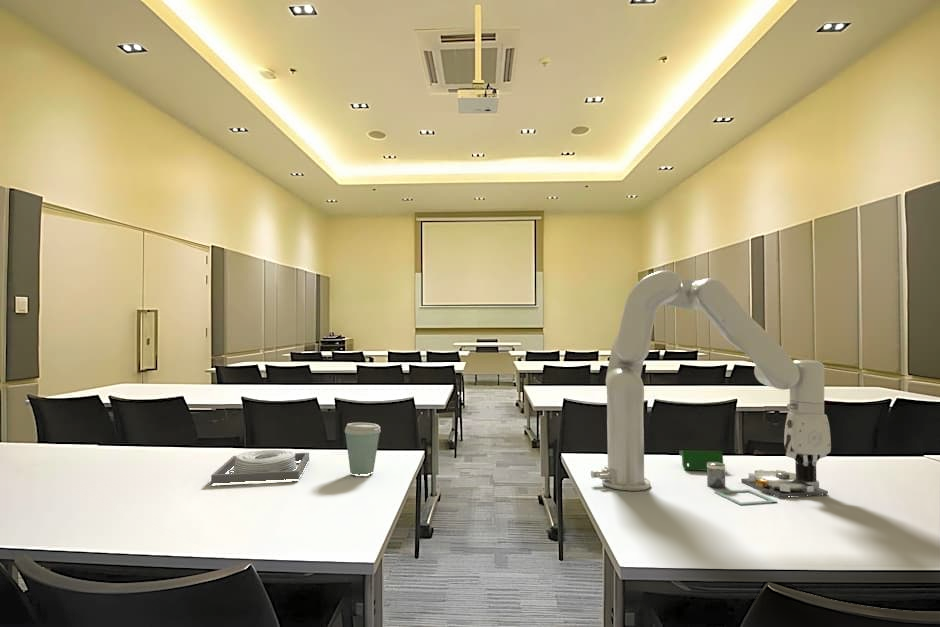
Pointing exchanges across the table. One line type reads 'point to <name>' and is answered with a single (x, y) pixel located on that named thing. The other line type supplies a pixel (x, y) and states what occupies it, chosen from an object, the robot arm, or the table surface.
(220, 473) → the cable tray
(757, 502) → the seat bay
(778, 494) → the sprocket base
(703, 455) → the green mounting bracket
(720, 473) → the silver metal cylinder
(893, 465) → the table surface
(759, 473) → the sprocket
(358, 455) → the disposable coffee cup
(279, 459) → the cable
